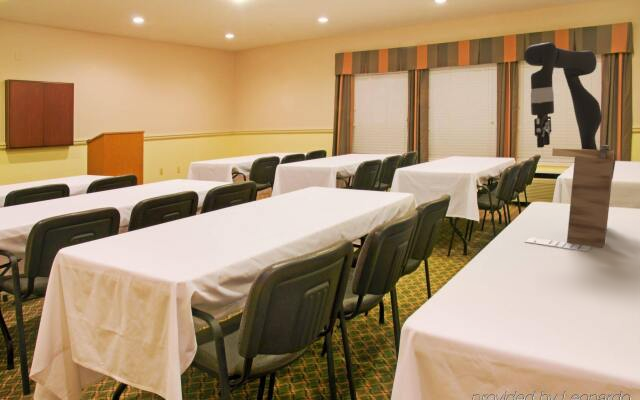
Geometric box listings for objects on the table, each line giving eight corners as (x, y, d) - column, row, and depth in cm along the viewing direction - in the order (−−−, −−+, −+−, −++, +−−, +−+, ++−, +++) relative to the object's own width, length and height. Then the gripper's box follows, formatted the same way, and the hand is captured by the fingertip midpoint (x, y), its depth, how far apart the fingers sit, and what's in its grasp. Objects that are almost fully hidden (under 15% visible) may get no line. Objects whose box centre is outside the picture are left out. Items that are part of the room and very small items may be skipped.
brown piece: (569, 239, 197) (578, 144, 191) (605, 244, 190) (615, 145, 184) (566, 242, 193) (575, 144, 186) (602, 247, 186) (613, 146, 179)
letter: (530, 238, 199) (530, 237, 199) (590, 247, 186) (591, 246, 186) (524, 242, 192) (524, 241, 192) (586, 251, 180) (586, 250, 180)
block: (553, 155, 195) (554, 147, 195) (613, 158, 183) (614, 150, 183) (552, 155, 193) (552, 148, 193) (612, 159, 181) (613, 151, 181)
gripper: (536, 101, 192) (537, 144, 194) (525, 102, 181) (527, 148, 183) (557, 99, 187) (559, 143, 190) (548, 100, 176) (550, 147, 179)
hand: (543, 146), depth 187 cm, fingers open, 8 cm apart
